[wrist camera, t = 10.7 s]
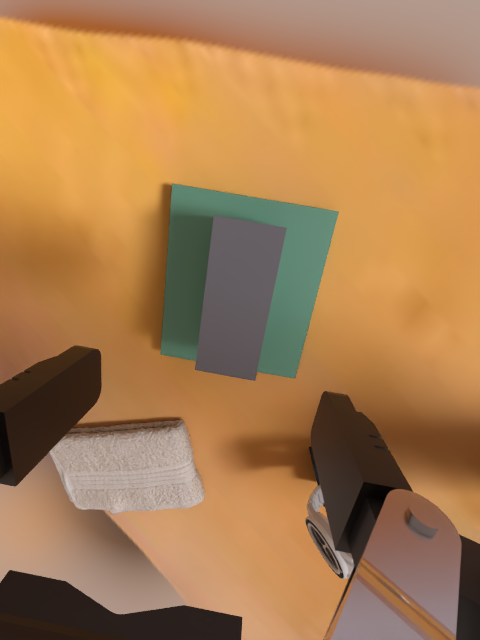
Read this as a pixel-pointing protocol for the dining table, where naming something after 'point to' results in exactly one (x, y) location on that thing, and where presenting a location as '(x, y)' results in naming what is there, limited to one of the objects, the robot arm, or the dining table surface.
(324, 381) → the dining table surface
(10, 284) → the dining table surface
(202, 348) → the grey rectangular block
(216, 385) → the dining table surface
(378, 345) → the dining table surface
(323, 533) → the watch
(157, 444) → the washcloth
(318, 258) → the board
